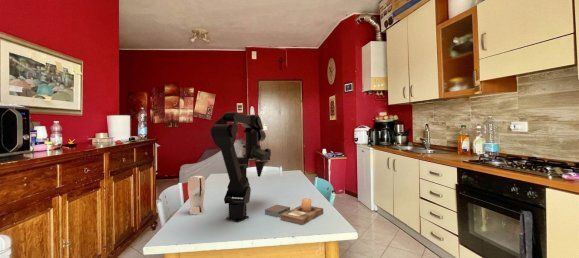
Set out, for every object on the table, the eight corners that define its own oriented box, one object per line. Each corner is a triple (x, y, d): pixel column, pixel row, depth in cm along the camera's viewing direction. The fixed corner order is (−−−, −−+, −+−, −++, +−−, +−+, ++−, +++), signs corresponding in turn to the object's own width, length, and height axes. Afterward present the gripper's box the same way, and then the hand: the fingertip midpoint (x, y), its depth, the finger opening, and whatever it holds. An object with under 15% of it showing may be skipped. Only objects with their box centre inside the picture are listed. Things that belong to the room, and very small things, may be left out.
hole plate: (302, 225, 101) (302, 218, 101) (280, 219, 107) (280, 213, 107) (323, 213, 114) (323, 207, 114) (302, 209, 120) (302, 203, 120)
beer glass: (196, 216, 112) (195, 179, 112) (184, 213, 116) (183, 177, 116) (209, 211, 118) (208, 176, 118) (197, 209, 122) (196, 174, 122)
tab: (278, 217, 110) (278, 212, 110) (264, 214, 114) (264, 209, 114) (290, 211, 116) (290, 207, 116) (276, 209, 120) (276, 204, 120)
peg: (308, 216, 110) (308, 201, 110) (299, 214, 112) (299, 200, 112) (313, 214, 113) (313, 199, 113) (304, 212, 115) (304, 197, 115)
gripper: (250, 145, 110) (250, 184, 111) (279, 142, 126) (279, 176, 126) (230, 144, 117) (231, 181, 117) (260, 141, 132) (260, 174, 132)
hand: (252, 178), depth 123 cm, fingers open, 9 cm apart
